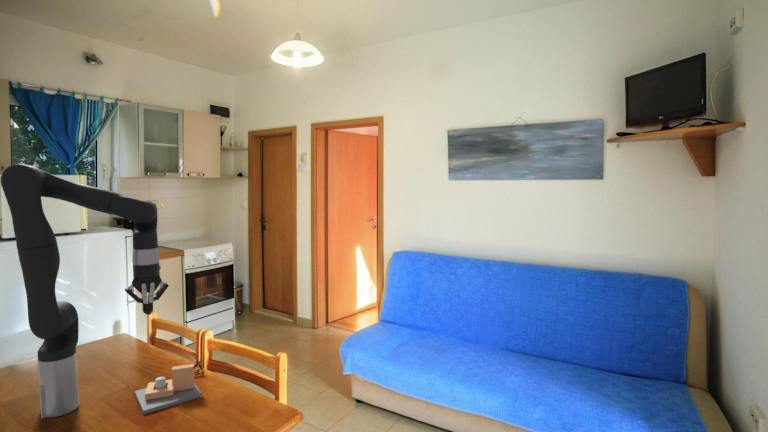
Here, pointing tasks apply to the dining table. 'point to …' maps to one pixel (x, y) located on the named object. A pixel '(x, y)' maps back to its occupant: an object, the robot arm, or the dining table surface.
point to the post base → (168, 401)
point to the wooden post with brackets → (197, 366)
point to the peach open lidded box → (173, 383)
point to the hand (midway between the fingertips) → (148, 313)
